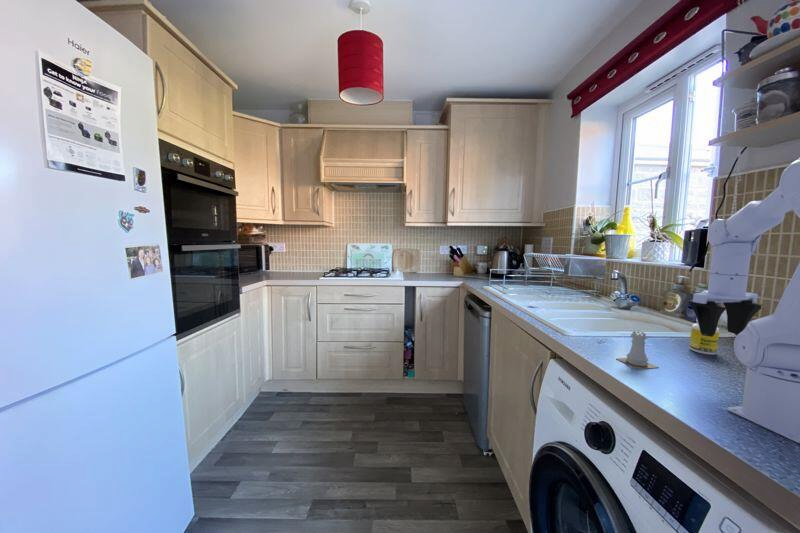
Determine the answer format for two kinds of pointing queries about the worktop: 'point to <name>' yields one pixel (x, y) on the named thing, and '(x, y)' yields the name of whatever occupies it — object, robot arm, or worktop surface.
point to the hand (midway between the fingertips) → (721, 333)
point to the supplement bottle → (703, 341)
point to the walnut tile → (637, 366)
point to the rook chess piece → (638, 350)
